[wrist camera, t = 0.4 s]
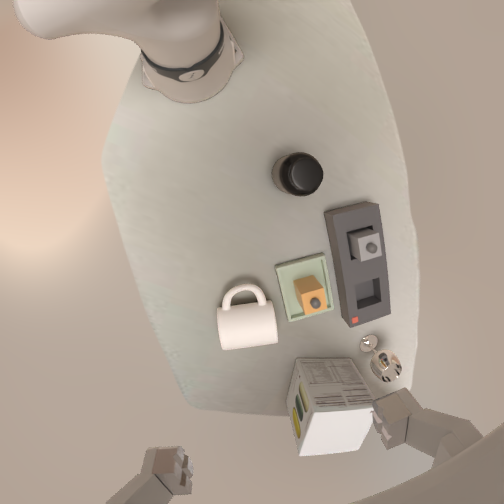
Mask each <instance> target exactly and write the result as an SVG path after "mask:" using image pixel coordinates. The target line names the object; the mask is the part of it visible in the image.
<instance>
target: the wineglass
mask: <svg viewBox="0 0 504 504" xmlns="http://www.w3.org/2000/svg"><path fill="white" fill-rule="evenodd" d="M377 342H378V340H377V337H376V336H374V335H368V336H366V337H365V338H363V339H362V341H361V343H360V349H361V350H362V351H364V352H369V351H371V350H373V351H374V355H373V357H372V359H371V363H370V366H371V369H372V371H373V373H374V374H375V375H376V376H377V377H378V378H379V379H381V380H382V381H383V382H391V381H393V380H395V379H396V378H397V377H398V376H399V375H400V373H401V370H402V367H401V364H400V361H399V359H398V357H397V356H396V355H395V353H393V352H392V351H390V350H387V349H383V350H380V351H376V350H375V349H374V348H375V347H376V345H377Z"/></svg>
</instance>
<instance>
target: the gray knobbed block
mask: <svg viewBox="0 0 504 504" xmlns="http://www.w3.org/2000/svg"><path fill="white" fill-rule="evenodd" d="M346 234H347V239H348V245H349V251H350V254H351V255H352V256H354V257H355V258H357V259H358V260H360V261H361V262H362V261H365V260H369V259H372V258H375V257H378V256H382V253H381V245H380V237H379V233H378V232H376V231H373V230H371V229H368V228H366V227H364V228H360V229H356V230H352V231H349V232H346Z"/></svg>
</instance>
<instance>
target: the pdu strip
mask: <svg viewBox="0 0 504 504" xmlns="http://www.w3.org/2000/svg"><path fill="white" fill-rule="evenodd" d="M324 215H325V220H326V225H327V230H328V235H329V241H330V246H331V252H332V257H333V263H334V269H335V274H336V281H337V287H338V293H339V300H340V306H341V313H342V318H343V319H344V320H345V322H346V323H347V324H348V325H349V327H350V328H351V327H354V326H357V325H360V324H363V323H366V322H369V321H372V320H375V319H378V318H380V317H383V316H386V315H389V314H391V309H390V294H389V282H388V271H387V261H386V252H385V244H384V237H383V229H382V223H381V216H380V210H379V204H376V203H371V202H363V203H359V204H355V205H351V206H347V207H343V208H338V209H334V210H330V211H326V212H324ZM364 227H366V228H368V229H371V230H373V231H376V232H378V233H379V237H380V245H381V253H382V256H378V257H375V258H372V259H369V260H365V261H362V262H361V261H360V260H358V259H357V258H355V257H354V256H352V255H351V254H350V251H349V245H348V239H347V234H346V232H349V231H352V230H356V229H360V228H364Z"/></svg>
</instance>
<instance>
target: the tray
mask: <svg viewBox="0 0 504 504" xmlns="http://www.w3.org/2000/svg"><path fill="white" fill-rule="evenodd" d="M275 268H276V273H277V277H278V281H279V285H280V289H281V293H282V298H283V302H284V306H285V310H286V315H287V319H288V321H289V322H292V321H296V320H299V319H303V318H306V317H310V316H313V315H317V314H320V313H323V312H327V311H330V310H333V309H334V305H333V298H332V292H331V286H330V280H329V275H328V269H327V263H326V258H325V255H324V254H323V253H319V254H315V255H312V256H308V257H304V258H301V259H297V260H293V261H289V262H286V263H282V264H278V265H275ZM311 275H314V277H315V278H316V279H317V280H318V281H319V283H320V284H321V285H322V286H323V288H324V292H325V298H326V304H327V309H324V310H321V311H318V312H314V313H311V314H307V315H305V314H304V312H303V310H302V308H301V306H300V304H299V302H298V300H297V297H296V292H295V288H294V283H293V280H297V279H301V278H304V277H308V276H311Z"/></svg>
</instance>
